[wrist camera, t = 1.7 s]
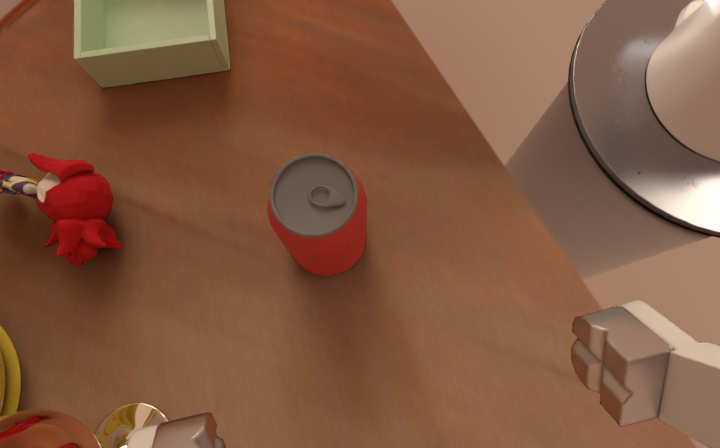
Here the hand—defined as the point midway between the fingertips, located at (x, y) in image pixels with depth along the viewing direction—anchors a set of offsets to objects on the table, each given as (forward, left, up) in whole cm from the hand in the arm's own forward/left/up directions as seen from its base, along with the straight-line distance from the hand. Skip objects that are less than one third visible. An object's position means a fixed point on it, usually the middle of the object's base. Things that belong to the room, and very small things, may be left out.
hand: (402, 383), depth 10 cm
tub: (+15, -35, -29) cm, 47 cm away
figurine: (+25, -17, -29) cm, 42 cm away
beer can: (+2, -11, -29) cm, 31 cm away
